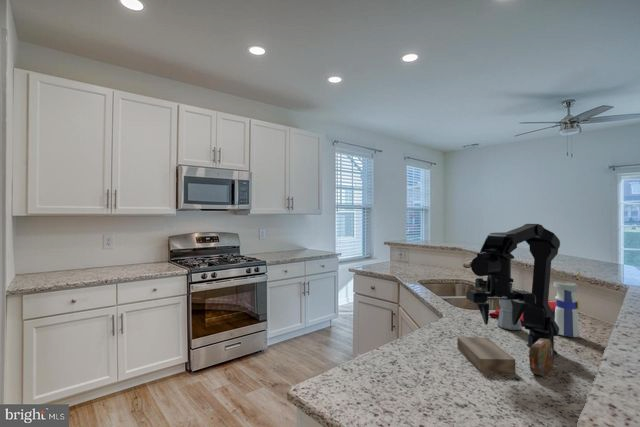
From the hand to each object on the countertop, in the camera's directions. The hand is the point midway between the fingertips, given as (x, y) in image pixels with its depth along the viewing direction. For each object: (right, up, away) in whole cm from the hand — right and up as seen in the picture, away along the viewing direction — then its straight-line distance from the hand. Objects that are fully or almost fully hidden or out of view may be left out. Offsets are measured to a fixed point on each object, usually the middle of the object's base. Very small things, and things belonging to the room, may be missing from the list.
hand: (500, 324), depth 100 cm
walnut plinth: (-4, -12, +2) cm, 13 cm away
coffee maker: (+22, -13, +34) cm, 43 cm away
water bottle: (+40, -12, +26) cm, 49 cm away
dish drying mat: (+42, -13, +53) cm, 69 cm away
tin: (+10, -12, -4) cm, 16 cm away
